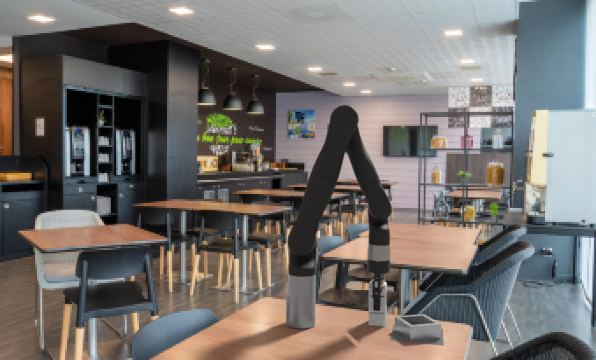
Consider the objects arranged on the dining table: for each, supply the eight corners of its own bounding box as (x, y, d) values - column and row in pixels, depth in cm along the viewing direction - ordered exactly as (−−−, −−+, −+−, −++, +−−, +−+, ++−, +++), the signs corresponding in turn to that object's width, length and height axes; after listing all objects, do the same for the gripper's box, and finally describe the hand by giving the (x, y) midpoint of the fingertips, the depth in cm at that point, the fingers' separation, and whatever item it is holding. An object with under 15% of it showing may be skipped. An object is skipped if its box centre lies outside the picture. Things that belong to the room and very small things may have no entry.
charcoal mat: (390, 344, 159) (390, 340, 159) (393, 328, 174) (393, 324, 174) (443, 349, 155) (443, 345, 155) (442, 332, 170) (442, 328, 170)
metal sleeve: (410, 341, 158) (410, 326, 158) (394, 330, 168) (394, 316, 168) (440, 338, 161) (441, 323, 161) (423, 327, 171) (424, 314, 171)
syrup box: (385, 329, 172) (386, 285, 172) (367, 327, 173) (368, 284, 173) (386, 323, 178) (387, 281, 177) (368, 322, 179) (369, 280, 178)
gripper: (369, 253, 183) (368, 301, 183) (364, 261, 169) (363, 313, 169) (391, 254, 181) (390, 303, 181) (388, 262, 167) (387, 315, 167)
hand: (377, 307), depth 175 cm, fingers closed on syrup box, 6 cm apart
